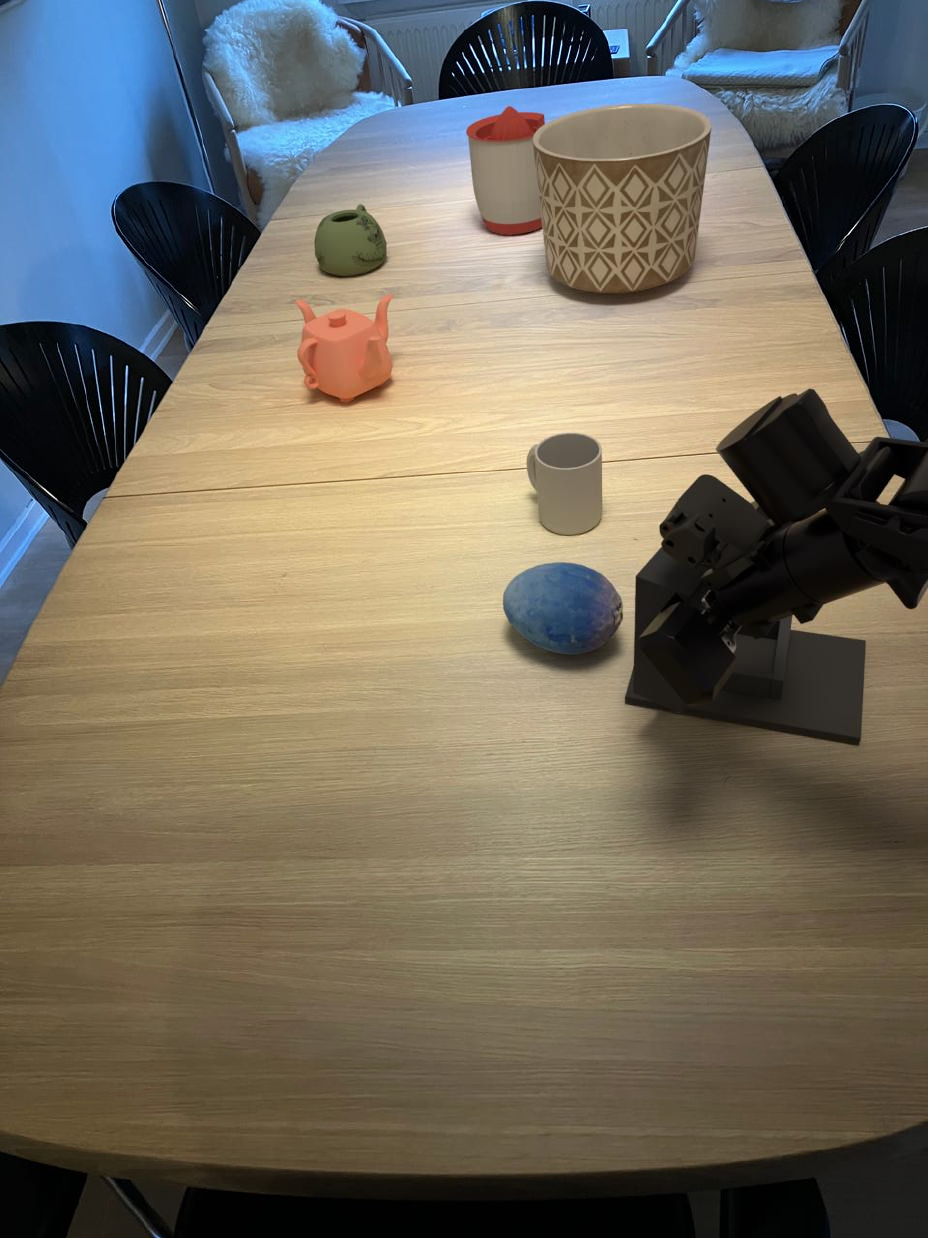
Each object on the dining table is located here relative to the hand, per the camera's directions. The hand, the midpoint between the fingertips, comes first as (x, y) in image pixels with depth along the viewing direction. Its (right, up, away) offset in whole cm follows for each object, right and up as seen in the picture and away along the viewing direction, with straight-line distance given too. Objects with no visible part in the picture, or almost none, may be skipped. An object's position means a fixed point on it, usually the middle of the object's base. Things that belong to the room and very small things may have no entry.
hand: (658, 624), depth 74 cm
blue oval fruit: (-4, -2, +17) cm, 18 cm away
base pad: (+10, -5, +12) cm, 16 cm away
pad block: (+2, -5, +4) cm, 7 cm away
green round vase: (-35, +65, +94) cm, 120 cm away
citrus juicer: (-5, +74, +99) cm, 123 cm away
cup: (-4, +13, +33) cm, 35 cm away
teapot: (-31, +35, +61) cm, 77 cm away
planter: (+10, +57, +77) cm, 96 cm away
